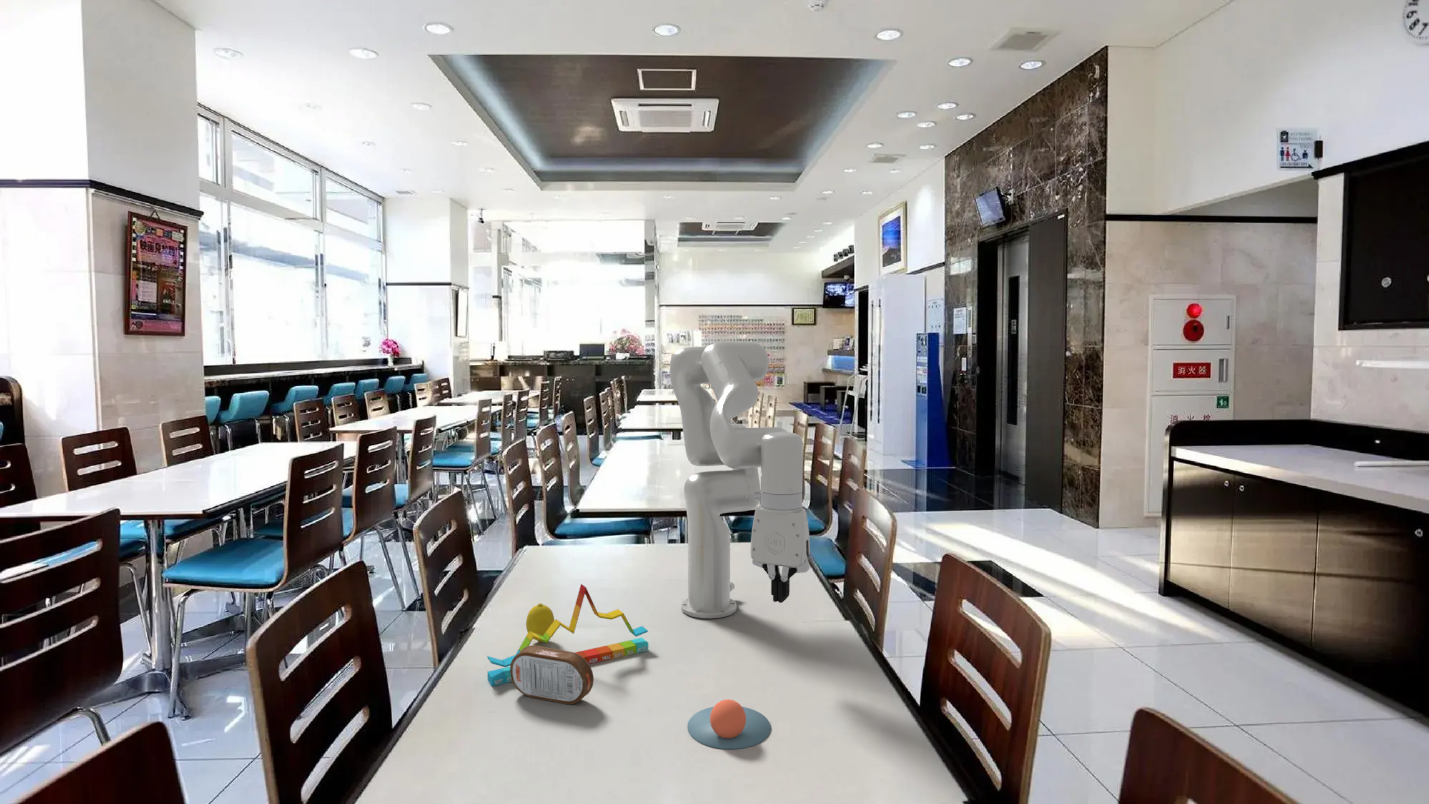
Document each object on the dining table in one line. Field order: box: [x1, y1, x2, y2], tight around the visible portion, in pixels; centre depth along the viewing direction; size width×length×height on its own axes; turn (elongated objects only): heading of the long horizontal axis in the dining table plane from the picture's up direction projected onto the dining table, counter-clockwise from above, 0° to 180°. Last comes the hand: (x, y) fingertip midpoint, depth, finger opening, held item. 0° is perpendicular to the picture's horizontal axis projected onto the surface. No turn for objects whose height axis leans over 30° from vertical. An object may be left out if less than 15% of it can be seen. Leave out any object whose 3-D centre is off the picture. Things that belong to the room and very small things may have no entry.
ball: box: [710, 699, 746, 739], centre depth 112 cm, size 6×6×6 cm
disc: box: [687, 706, 771, 750], centre depth 115 cm, size 13×13×1 cm
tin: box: [509, 644, 595, 705], centre depth 123 cm, size 15×3×8 cm, turn 71°
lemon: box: [525, 602, 555, 643], centre depth 147 cm, size 6×6×8 cm
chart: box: [487, 583, 649, 687], centre depth 136 cm, size 30×3×15 cm, turn 121°
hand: (780, 599), depth 133 cm, fingers closed
